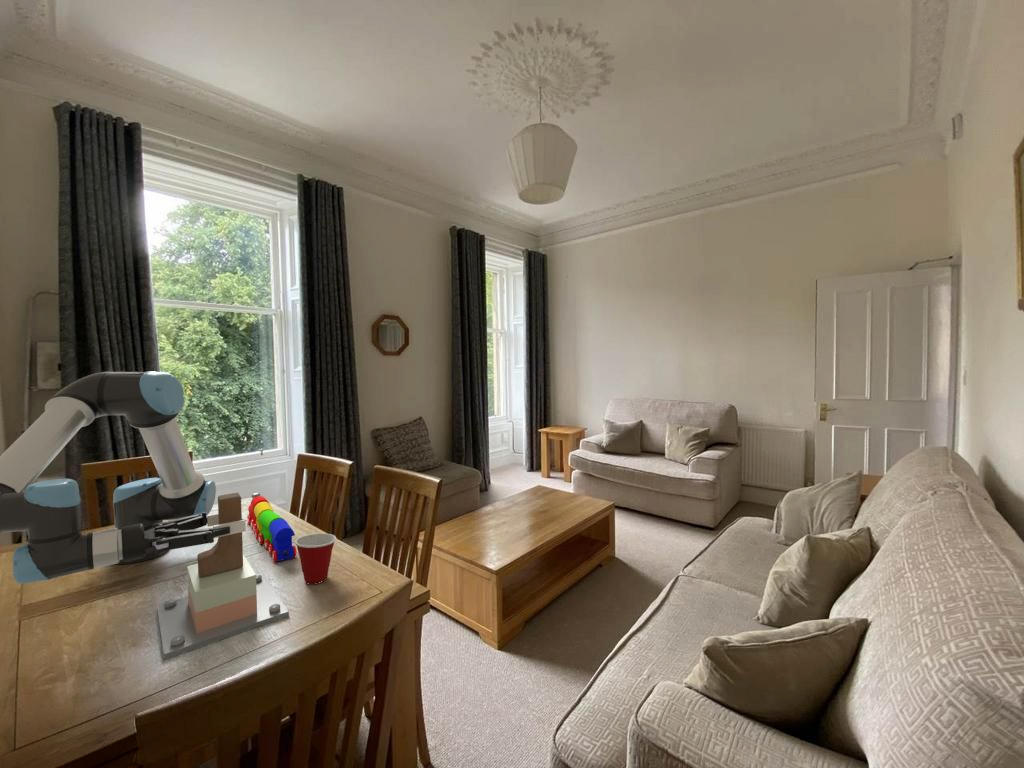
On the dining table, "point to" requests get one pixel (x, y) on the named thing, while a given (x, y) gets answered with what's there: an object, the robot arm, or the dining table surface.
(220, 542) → the wooden block
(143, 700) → the dining table surface
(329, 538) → the plastic cup
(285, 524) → the toy train
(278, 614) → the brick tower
